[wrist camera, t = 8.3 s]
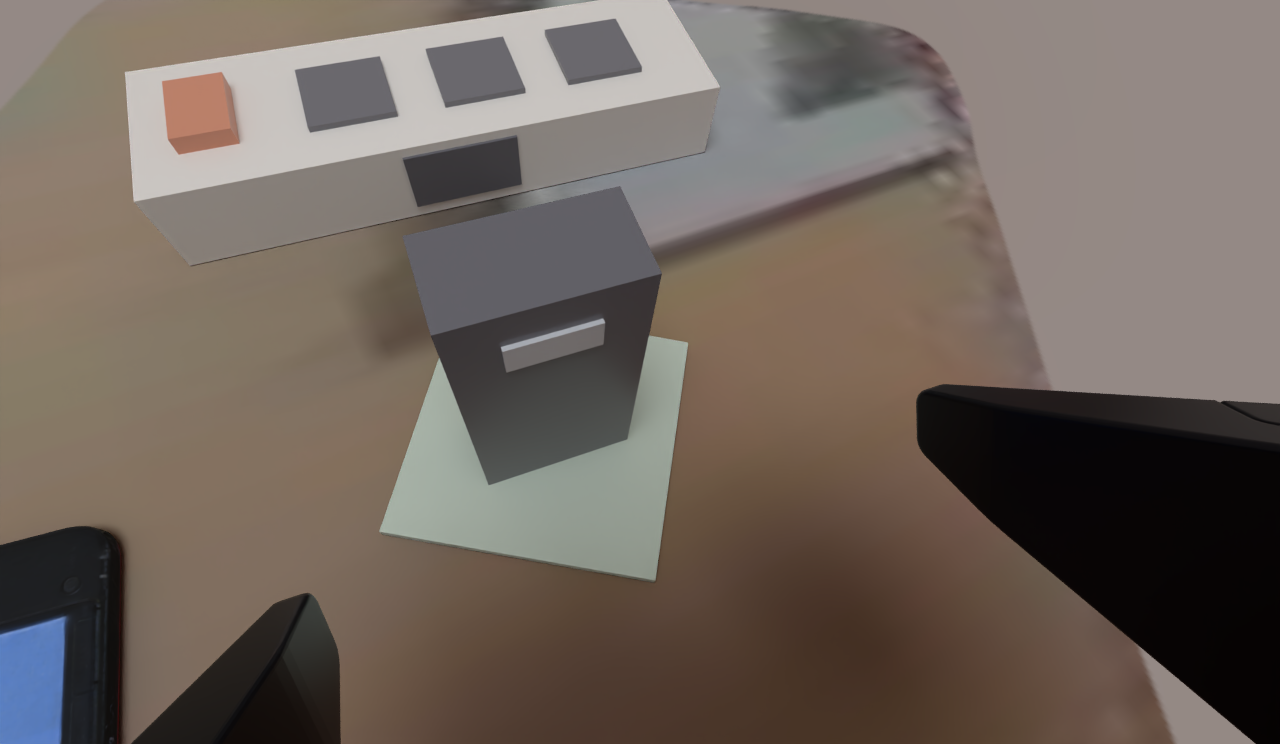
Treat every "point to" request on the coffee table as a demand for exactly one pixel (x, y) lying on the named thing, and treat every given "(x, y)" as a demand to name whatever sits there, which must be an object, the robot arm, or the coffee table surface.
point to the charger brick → (540, 325)
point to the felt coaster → (547, 485)
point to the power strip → (409, 122)
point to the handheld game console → (60, 638)
